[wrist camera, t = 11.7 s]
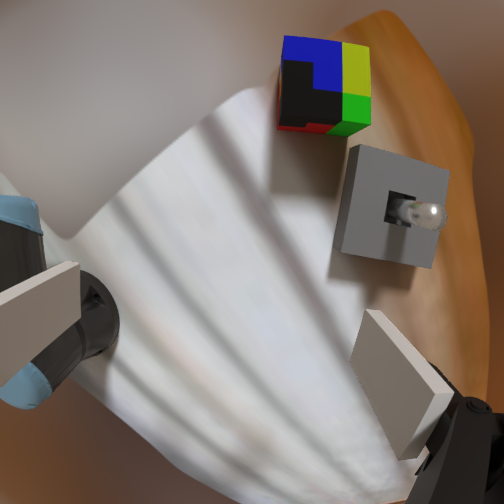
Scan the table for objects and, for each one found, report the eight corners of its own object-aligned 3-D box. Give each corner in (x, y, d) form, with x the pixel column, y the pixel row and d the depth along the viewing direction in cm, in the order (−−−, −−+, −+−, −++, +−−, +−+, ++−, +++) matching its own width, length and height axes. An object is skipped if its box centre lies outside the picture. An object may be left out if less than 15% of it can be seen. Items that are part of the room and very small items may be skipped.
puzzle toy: (279, 65, 39) (284, 35, 30) (348, 73, 39) (369, 47, 29) (277, 130, 41) (281, 114, 32) (347, 136, 41) (370, 124, 31)
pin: (379, 215, 42) (423, 228, 29) (383, 195, 41) (428, 201, 28) (397, 219, 42) (444, 233, 29) (400, 199, 41) (449, 207, 28)
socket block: (332, 245, 44) (340, 252, 39) (349, 148, 41) (360, 143, 36) (416, 260, 44) (431, 268, 39) (433, 171, 41) (449, 171, 36)
